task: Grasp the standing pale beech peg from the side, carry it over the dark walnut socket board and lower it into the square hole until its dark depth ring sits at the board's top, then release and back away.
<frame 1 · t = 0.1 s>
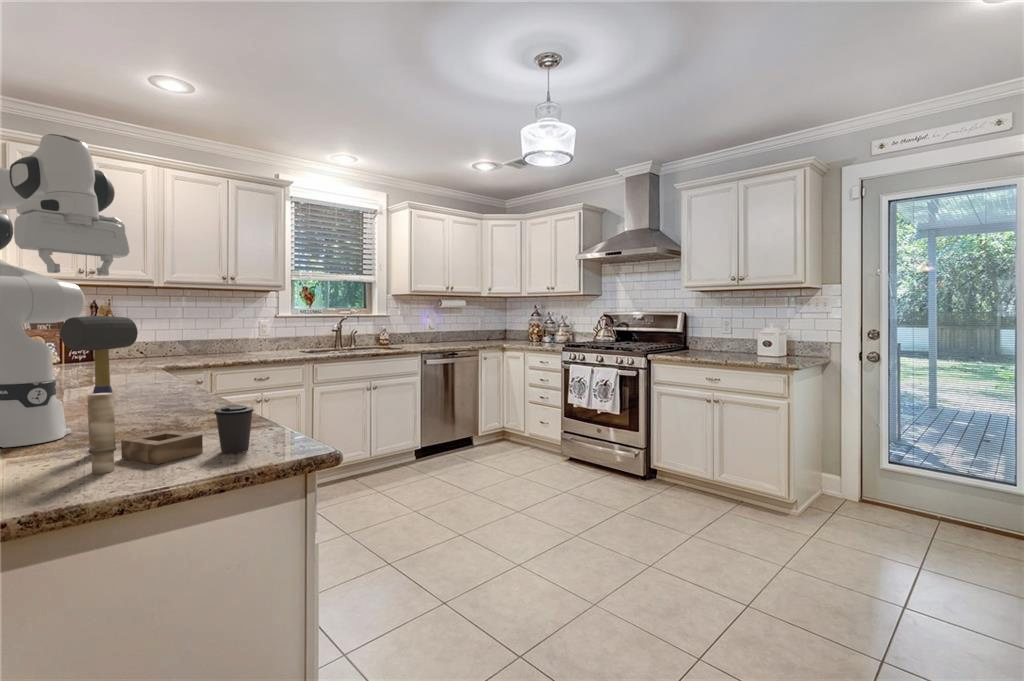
hand: (79, 274, 113), 39 cm above the worktop, tool pointing down, fingers open, 8 cm apart
beech peg: (103, 471, 100), on the worktop
coffee cup: (235, 451, 116), on the worktop
rubber mallet: (104, 453, 114), on the worktop
walnut socket board: (163, 455, 112), on the worktop
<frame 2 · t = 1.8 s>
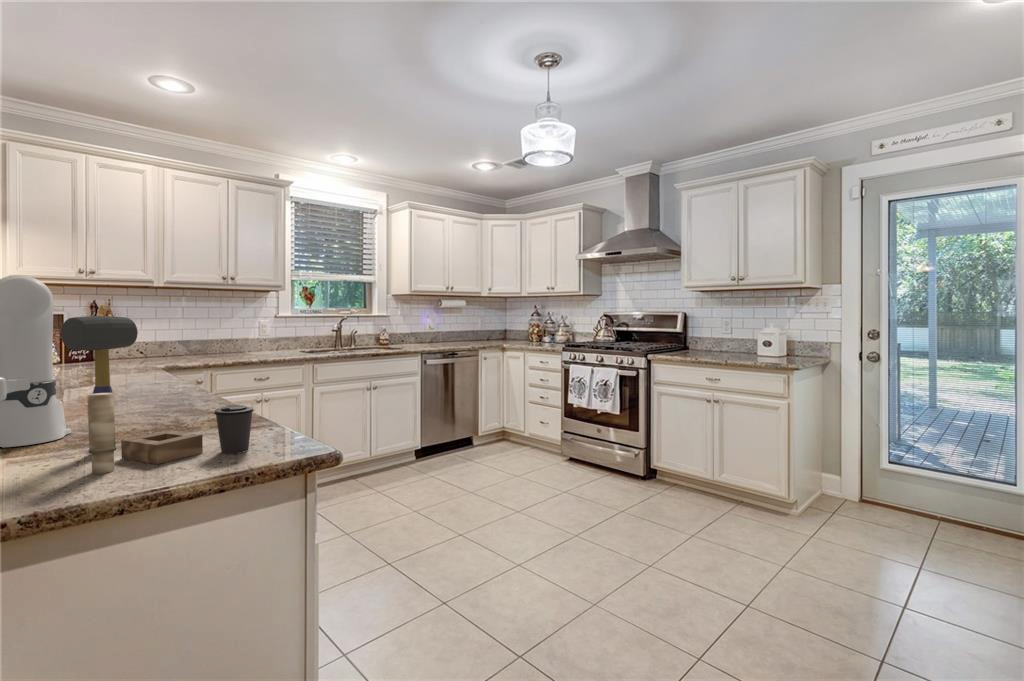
hand: (12, 382, 87), 19 cm above the worktop, tool horizontal, fingers open, 8 cm apart
nothing on the worktop moved.
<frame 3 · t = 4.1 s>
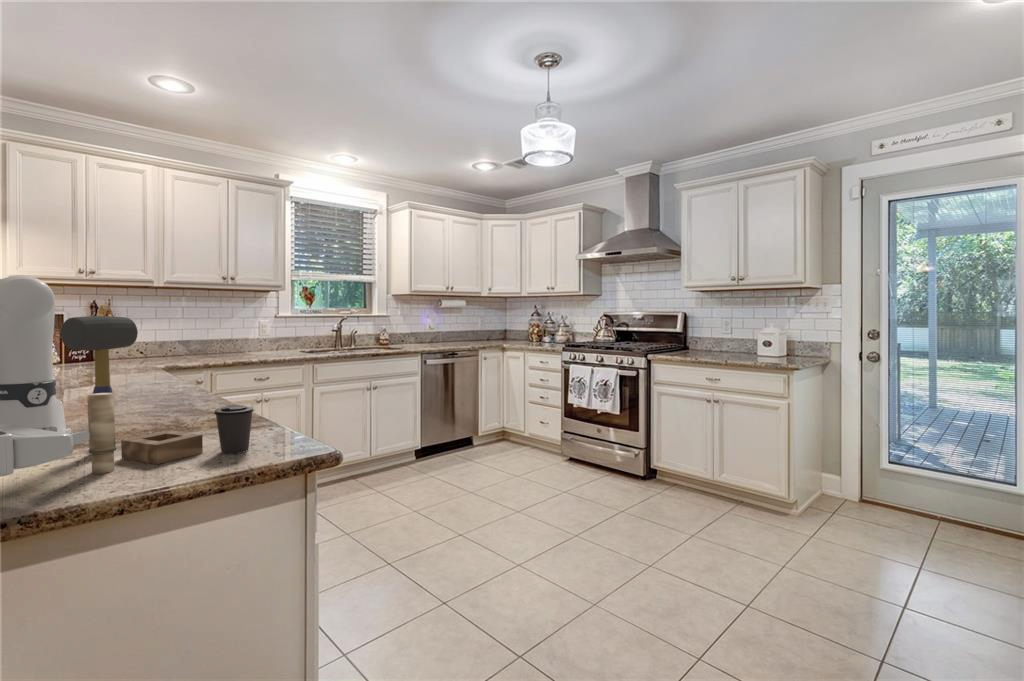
hand: (70, 433, 95), 9 cm above the worktop, tool horizontal, fingers open, 8 cm apart
nothing on the worktop moved.
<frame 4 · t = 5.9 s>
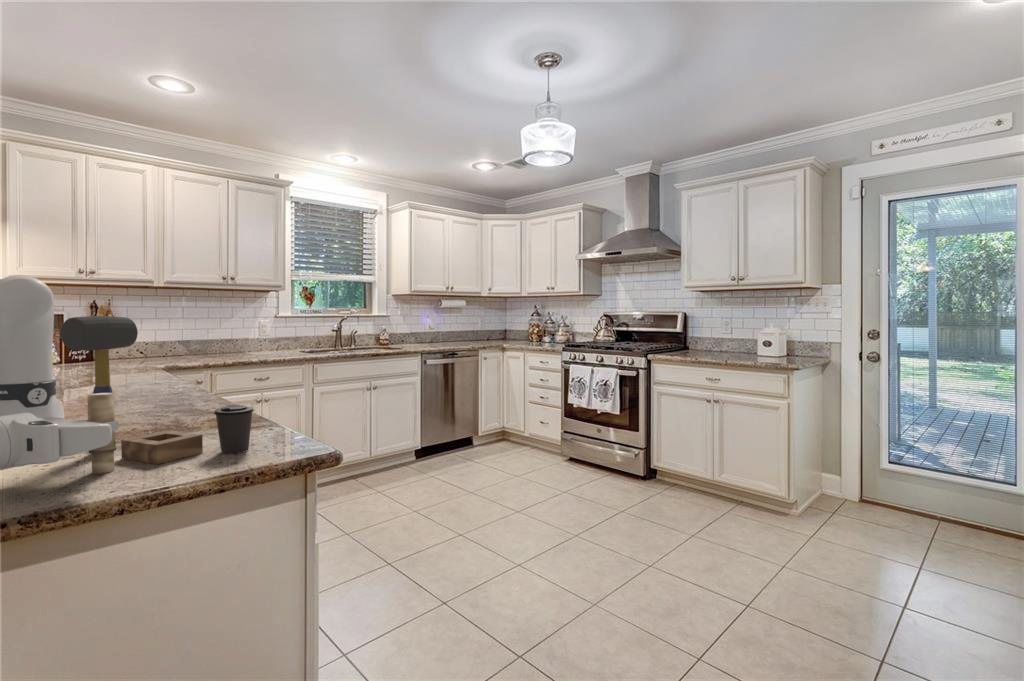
hand: (106, 424, 101), 9 cm above the worktop, tool horizontal, fingers closed on beech peg, 4 cm apart
beech peg: (103, 471, 100), on the worktop, touching gripper
everything else where it was.
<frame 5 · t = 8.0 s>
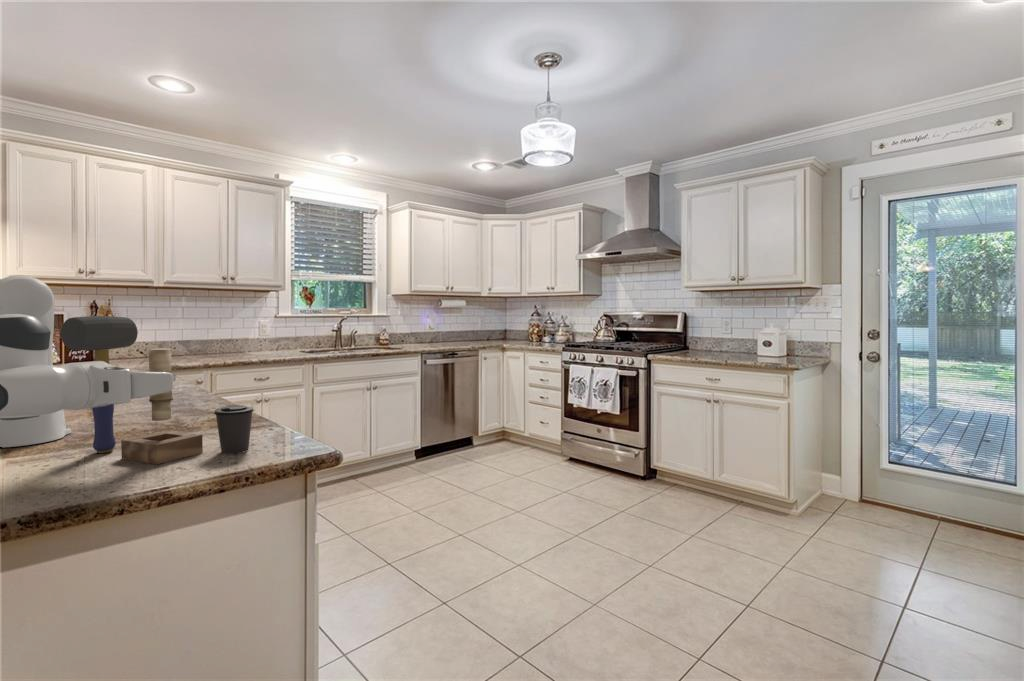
hand: (164, 376, 112), 17 cm above the worktop, tool horizontal, fingers closed on beech peg, 4 cm apart
beech peg: (161, 419, 111), point 8 cm above the worktop, touching gripper
everything else where it was.
when the fingers open (10 cm above the worktop, at t = 10.4 s): beech peg stays where it is, resting in walnut socket board.
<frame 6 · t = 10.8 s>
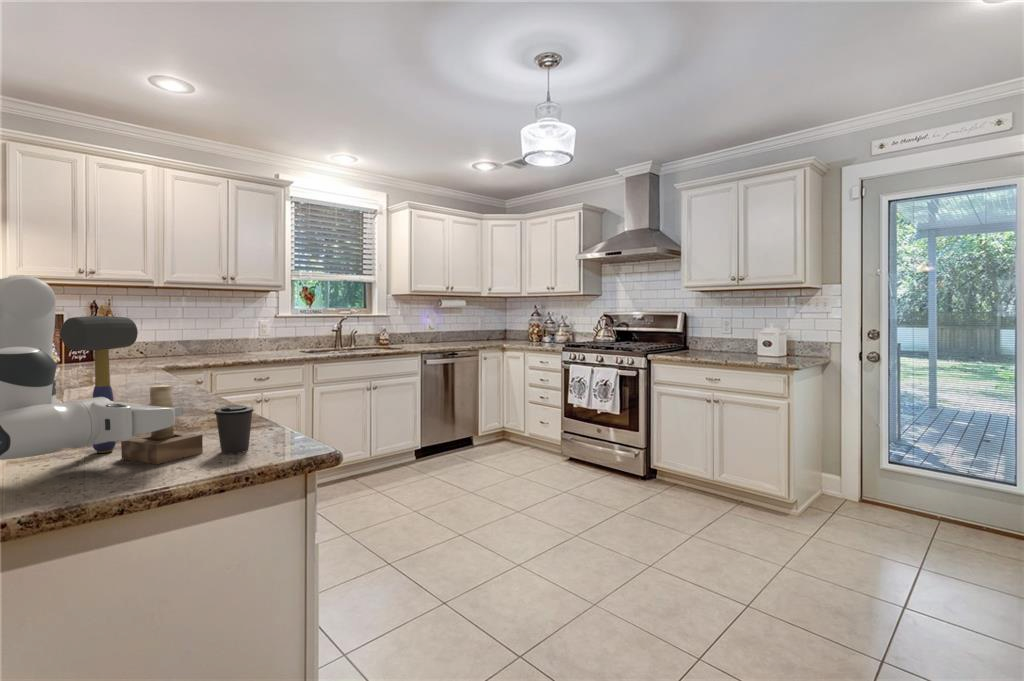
hand: (166, 408, 112), 10 cm above the worktop, tool horizontal, fingers open, 8 cm apart
beech peg: (162, 455, 112), resting in walnut socket board
everything else where it was.
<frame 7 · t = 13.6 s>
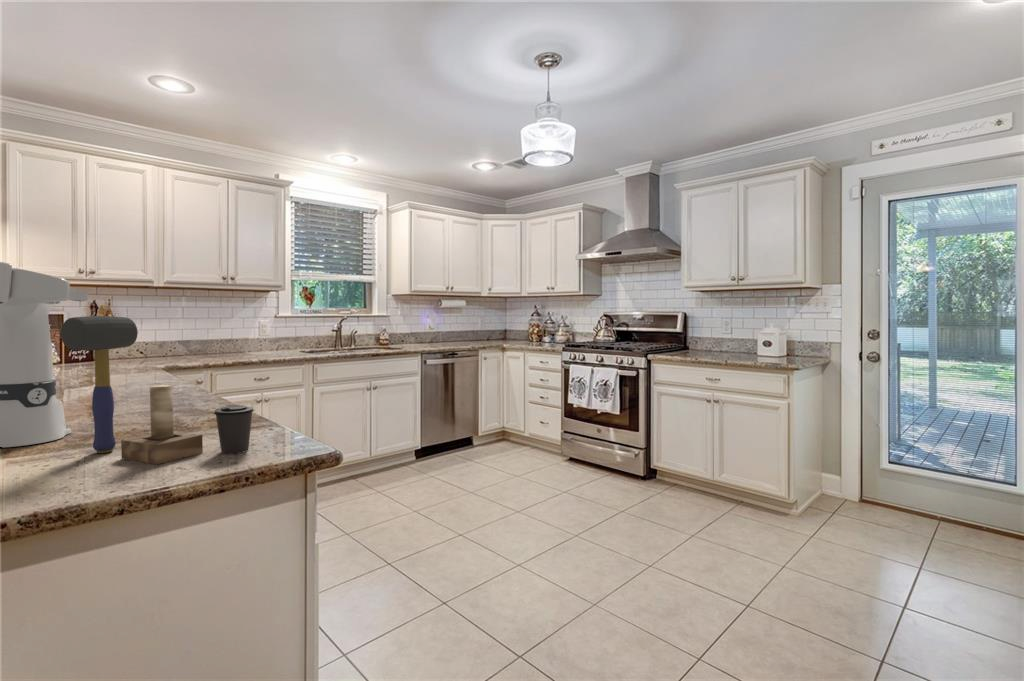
hand: (71, 298, 98), 33 cm above the worktop, tool horizontal, fingers open, 8 cm apart
nothing on the worktop moved.
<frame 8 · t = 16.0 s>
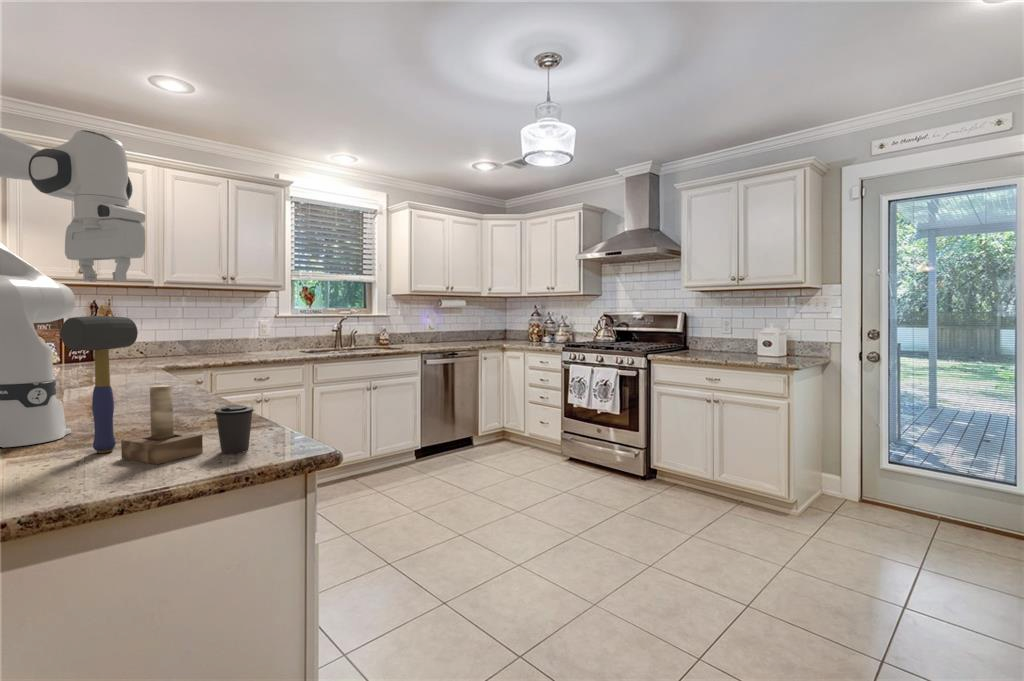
hand: (104, 281, 107), 37 cm above the worktop, tool pointing down, fingers open, 8 cm apart
nothing on the worktop moved.
at the end: beech peg 0.0 cm off-centre on the walnut socket board, point 0.0 cm above the walnut socket board's base; beech peg tilted 0°; the gripper is holding nothing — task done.
